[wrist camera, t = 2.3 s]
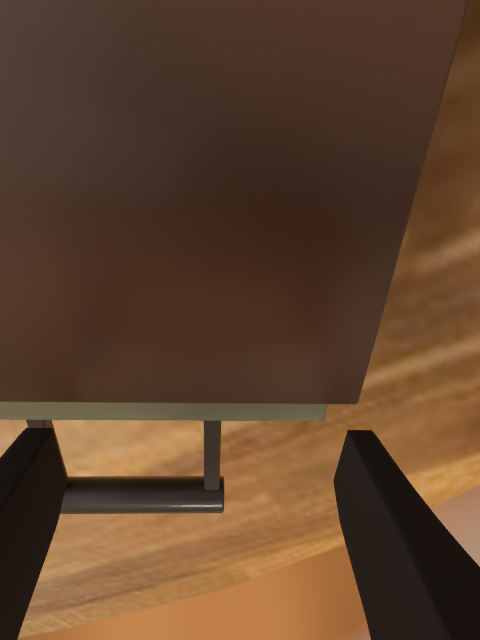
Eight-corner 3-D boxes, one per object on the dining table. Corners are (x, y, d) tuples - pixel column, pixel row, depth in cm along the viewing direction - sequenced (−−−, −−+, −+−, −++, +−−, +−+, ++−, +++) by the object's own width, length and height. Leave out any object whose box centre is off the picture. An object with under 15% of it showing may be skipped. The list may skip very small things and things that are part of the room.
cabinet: (314, 277, 19) (358, 405, 13) (-32, 270, 19) (-160, 402, 12) (397, -239, 11) (628, -565, 5) (-227, -292, 10) (-929, -764, 4)
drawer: (285, 414, 23) (301, 520, 18) (19, 413, 22) (-37, 523, 17) (360, -94, 12) (452, -163, 7) (-168, -129, 11) (-460, -233, 6)
